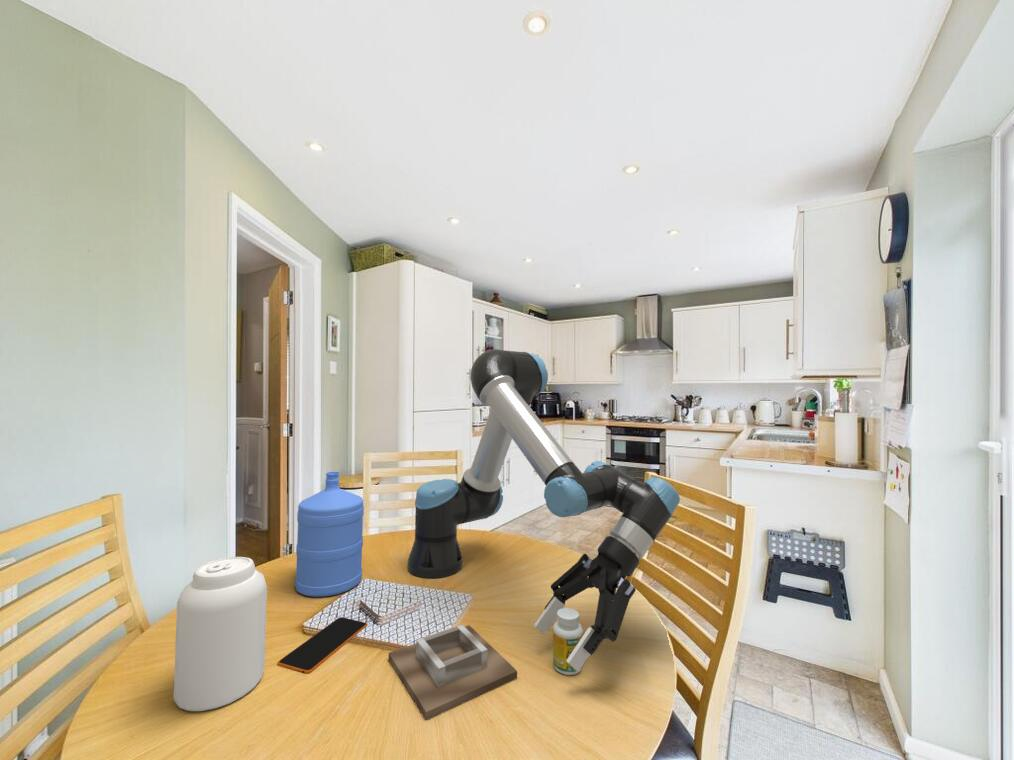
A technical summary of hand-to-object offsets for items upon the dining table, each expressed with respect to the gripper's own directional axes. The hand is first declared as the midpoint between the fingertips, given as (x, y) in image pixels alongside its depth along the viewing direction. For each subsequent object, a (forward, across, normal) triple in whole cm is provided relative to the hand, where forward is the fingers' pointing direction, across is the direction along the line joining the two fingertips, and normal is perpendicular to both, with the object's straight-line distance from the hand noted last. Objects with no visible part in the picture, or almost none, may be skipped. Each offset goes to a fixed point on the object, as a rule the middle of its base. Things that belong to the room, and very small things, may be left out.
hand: (554, 647), depth 75 cm
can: (+41, +18, +34) cm, 56 cm away
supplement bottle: (+1, 0, -5) cm, 5 cm away
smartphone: (+30, +24, +23) cm, 45 cm away
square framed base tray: (+15, +8, +9) cm, 19 cm away
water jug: (+28, +51, +22) cm, 62 cm away
